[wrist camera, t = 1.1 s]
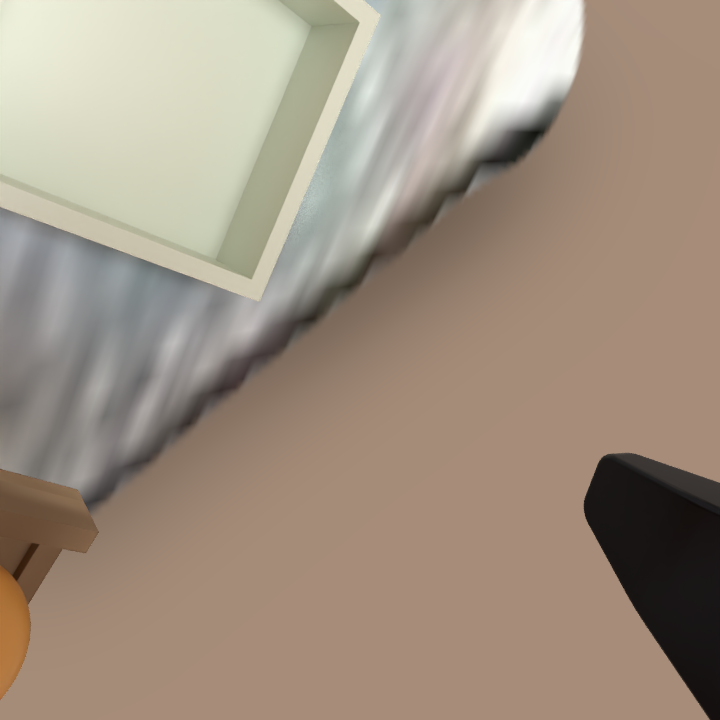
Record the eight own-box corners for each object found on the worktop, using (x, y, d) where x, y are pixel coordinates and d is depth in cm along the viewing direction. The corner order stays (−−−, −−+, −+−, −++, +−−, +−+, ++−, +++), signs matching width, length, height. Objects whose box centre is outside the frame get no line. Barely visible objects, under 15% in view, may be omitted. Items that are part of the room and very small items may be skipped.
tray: (-98, 156, 17) (-93, 173, 15) (29, -213, 16) (60, -267, 13) (216, 276, 24) (259, 301, 21) (322, 20, 23) (380, 15, 20)
